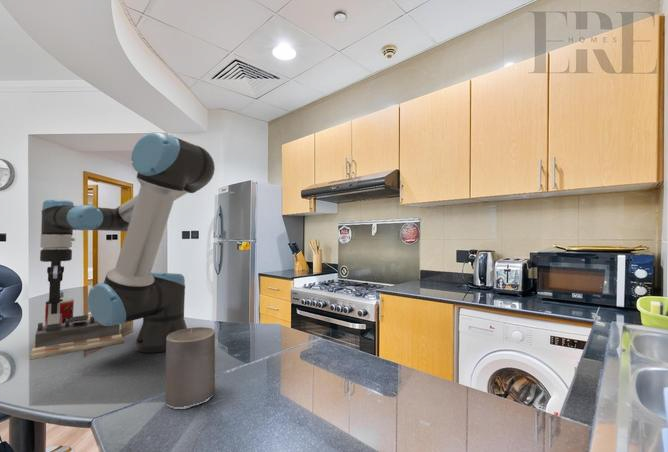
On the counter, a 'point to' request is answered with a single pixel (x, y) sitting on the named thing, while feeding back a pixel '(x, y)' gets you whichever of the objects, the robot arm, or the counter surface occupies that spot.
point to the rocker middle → (80, 318)
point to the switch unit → (74, 337)
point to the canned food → (63, 310)
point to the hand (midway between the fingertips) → (53, 323)
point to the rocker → (54, 326)
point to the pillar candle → (190, 366)
